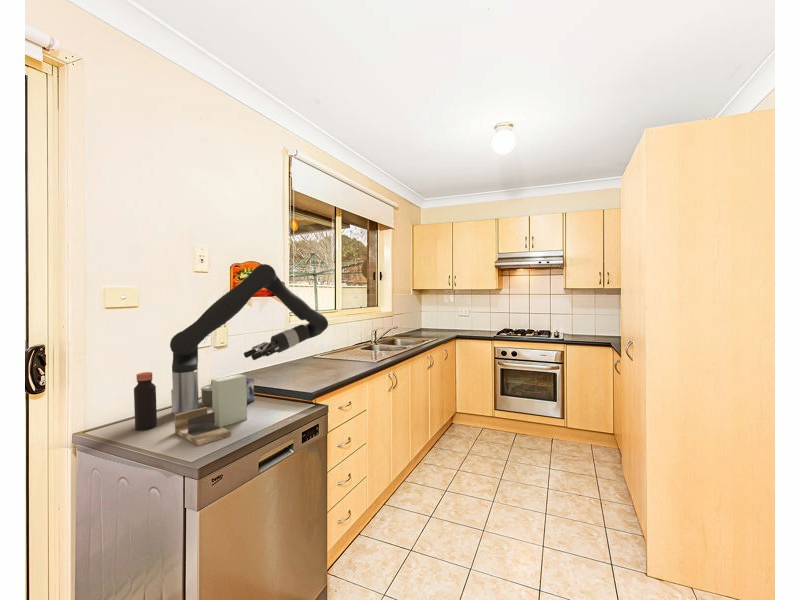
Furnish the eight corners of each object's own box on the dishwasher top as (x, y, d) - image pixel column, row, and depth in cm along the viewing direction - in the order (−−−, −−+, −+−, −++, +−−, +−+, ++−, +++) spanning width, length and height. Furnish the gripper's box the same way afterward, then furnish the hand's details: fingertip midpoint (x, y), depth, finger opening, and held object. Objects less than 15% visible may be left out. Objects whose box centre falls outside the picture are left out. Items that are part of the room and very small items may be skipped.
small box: (241, 408, 167) (240, 383, 167) (227, 407, 169) (226, 383, 168) (255, 401, 178) (254, 377, 177) (242, 400, 179) (241, 377, 179)
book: (212, 424, 149) (211, 379, 148) (240, 416, 157) (239, 374, 156) (219, 427, 145) (218, 381, 145) (247, 419, 154) (246, 375, 153)
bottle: (161, 425, 148) (159, 372, 147) (144, 431, 141) (142, 376, 141) (147, 423, 150) (145, 371, 149) (130, 429, 143) (128, 375, 143)
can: (226, 405, 172) (226, 389, 171) (197, 406, 170) (196, 391, 169) (234, 397, 183) (233, 382, 183) (206, 398, 182) (206, 384, 181)
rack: (175, 432, 140) (174, 414, 140) (206, 424, 149) (206, 407, 148) (198, 445, 129) (198, 426, 129) (230, 435, 137) (230, 417, 137)
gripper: (275, 331, 170) (238, 346, 160) (289, 333, 159) (251, 349, 149) (280, 347, 171) (245, 363, 162) (295, 350, 161) (258, 367, 151)
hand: (248, 356), depth 155 cm, fingers open, 8 cm apart
